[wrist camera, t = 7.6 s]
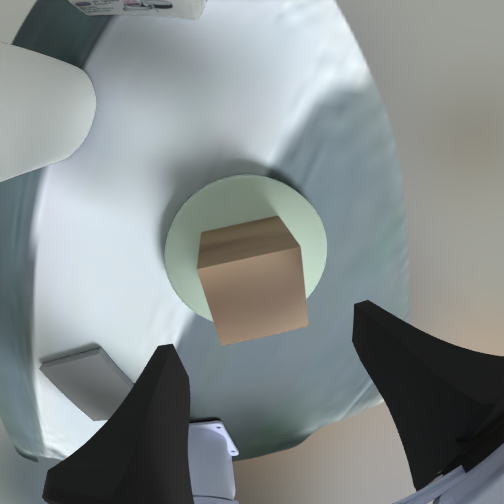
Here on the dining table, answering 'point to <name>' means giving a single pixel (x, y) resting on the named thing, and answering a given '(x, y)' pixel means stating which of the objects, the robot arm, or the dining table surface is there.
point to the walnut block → (253, 279)
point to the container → (142, 7)
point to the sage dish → (236, 212)
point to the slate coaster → (90, 382)
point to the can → (40, 110)
